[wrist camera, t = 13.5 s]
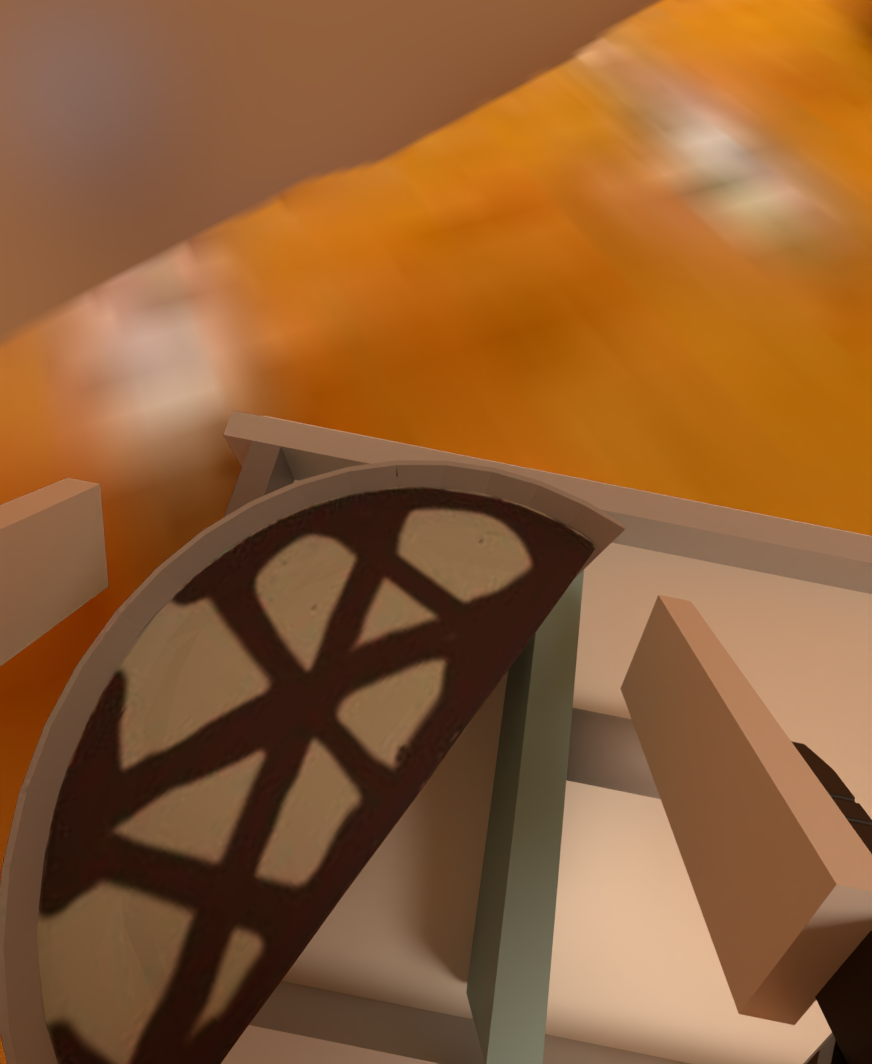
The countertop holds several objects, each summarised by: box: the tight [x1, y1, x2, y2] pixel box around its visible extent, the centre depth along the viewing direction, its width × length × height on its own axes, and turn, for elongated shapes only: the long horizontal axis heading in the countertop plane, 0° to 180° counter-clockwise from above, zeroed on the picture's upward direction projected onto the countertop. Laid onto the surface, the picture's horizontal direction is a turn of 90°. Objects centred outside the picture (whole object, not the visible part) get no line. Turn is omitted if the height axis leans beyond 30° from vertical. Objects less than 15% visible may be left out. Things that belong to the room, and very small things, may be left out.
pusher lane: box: [221, 410, 872, 1064], centre depth 16 cm, size 30×20×6 cm, turn 79°
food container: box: [0, 460, 627, 1064], centre depth 13 cm, size 12×6×10 cm, turn 141°
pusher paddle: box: [466, 570, 660, 1064], centre depth 15 cm, size 6×14×4 cm, turn 170°
